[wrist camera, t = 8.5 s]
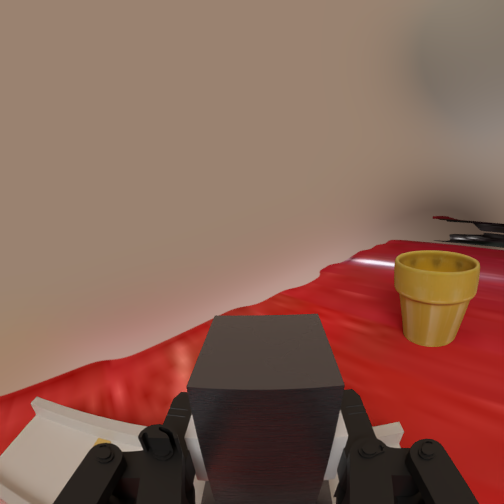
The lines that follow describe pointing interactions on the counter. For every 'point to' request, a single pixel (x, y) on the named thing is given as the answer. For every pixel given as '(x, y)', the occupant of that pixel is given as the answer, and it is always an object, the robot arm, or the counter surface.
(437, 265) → the plant pot
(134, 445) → the rail
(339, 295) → the counter surface
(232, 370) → the post
